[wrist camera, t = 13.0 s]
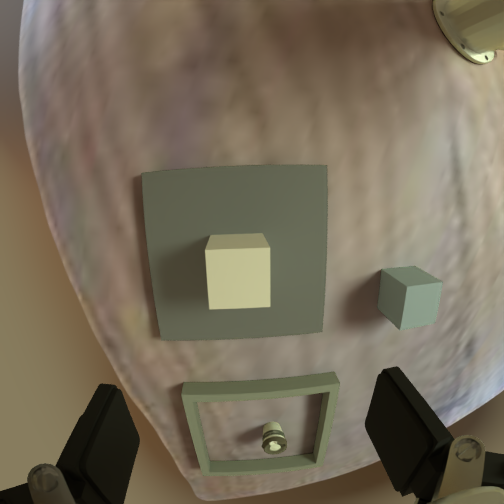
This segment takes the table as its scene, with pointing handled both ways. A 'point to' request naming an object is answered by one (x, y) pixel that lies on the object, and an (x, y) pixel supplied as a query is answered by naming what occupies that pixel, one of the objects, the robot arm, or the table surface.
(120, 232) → the table surface
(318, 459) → the cup coaster rim
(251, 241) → the cream block
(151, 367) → the table surface
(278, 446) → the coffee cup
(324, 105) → the table surface
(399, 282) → the slate block
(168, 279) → the baseplate
